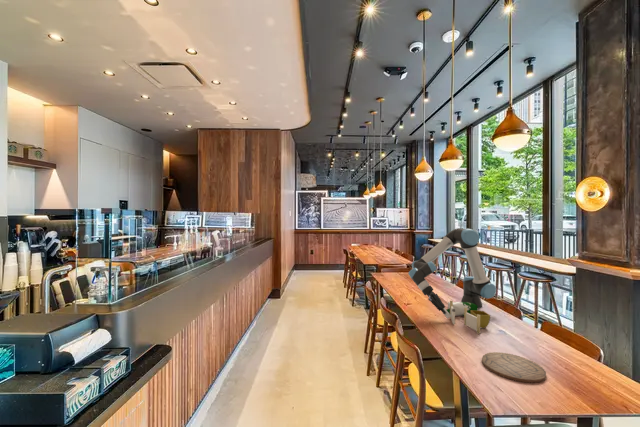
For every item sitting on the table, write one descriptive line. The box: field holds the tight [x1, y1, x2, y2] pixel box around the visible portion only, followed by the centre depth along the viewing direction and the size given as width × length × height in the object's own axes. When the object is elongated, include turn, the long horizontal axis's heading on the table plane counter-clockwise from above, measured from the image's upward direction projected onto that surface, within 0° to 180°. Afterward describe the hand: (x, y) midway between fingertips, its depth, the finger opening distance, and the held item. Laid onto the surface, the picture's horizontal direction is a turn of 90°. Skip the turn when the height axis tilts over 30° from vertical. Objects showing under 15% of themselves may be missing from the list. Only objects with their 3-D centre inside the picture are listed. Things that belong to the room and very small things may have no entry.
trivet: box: [481, 351, 547, 384], centre depth 135 cm, size 25×25×2 cm
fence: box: [449, 300, 481, 335], centre depth 189 cm, size 28×3×12 cm, turn 10°
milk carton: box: [446, 301, 479, 317], centre depth 209 cm, size 9×9×20 cm
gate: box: [450, 306, 456, 325], centre depth 194 cm, size 13×2×10 cm, turn 161°
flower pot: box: [470, 310, 491, 329], centre depth 187 cm, size 9×9×9 cm
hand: (449, 317), depth 195 cm, fingers closed
